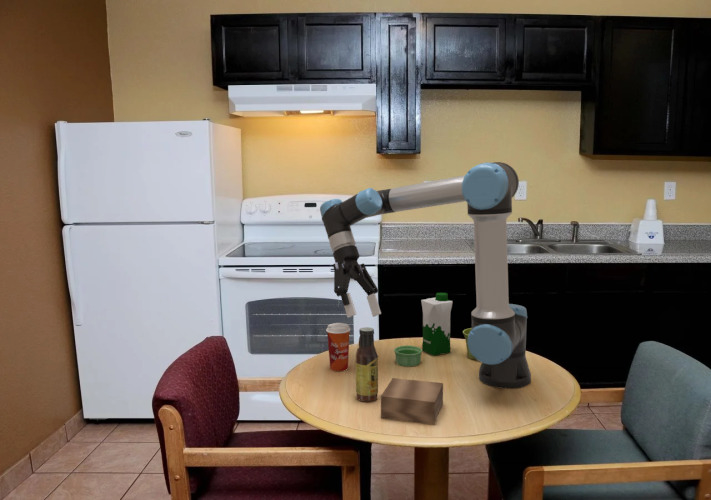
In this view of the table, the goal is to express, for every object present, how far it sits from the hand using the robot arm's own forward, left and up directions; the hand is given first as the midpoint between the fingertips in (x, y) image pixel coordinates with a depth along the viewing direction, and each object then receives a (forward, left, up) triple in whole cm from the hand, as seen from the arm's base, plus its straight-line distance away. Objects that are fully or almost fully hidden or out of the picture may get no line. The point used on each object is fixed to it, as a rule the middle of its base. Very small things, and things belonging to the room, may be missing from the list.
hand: (365, 315), depth 175 cm
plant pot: (-29, -32, -21) cm, 48 cm away
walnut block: (-17, +15, -21) cm, 31 cm away
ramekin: (-8, -21, -21) cm, 31 cm away
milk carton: (-15, -34, -21) cm, 43 cm away
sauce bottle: (-3, +10, -21) cm, 24 cm away
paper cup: (+12, -10, -21) cm, 26 cm away
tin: (+7, -24, -21) cm, 32 cm away
